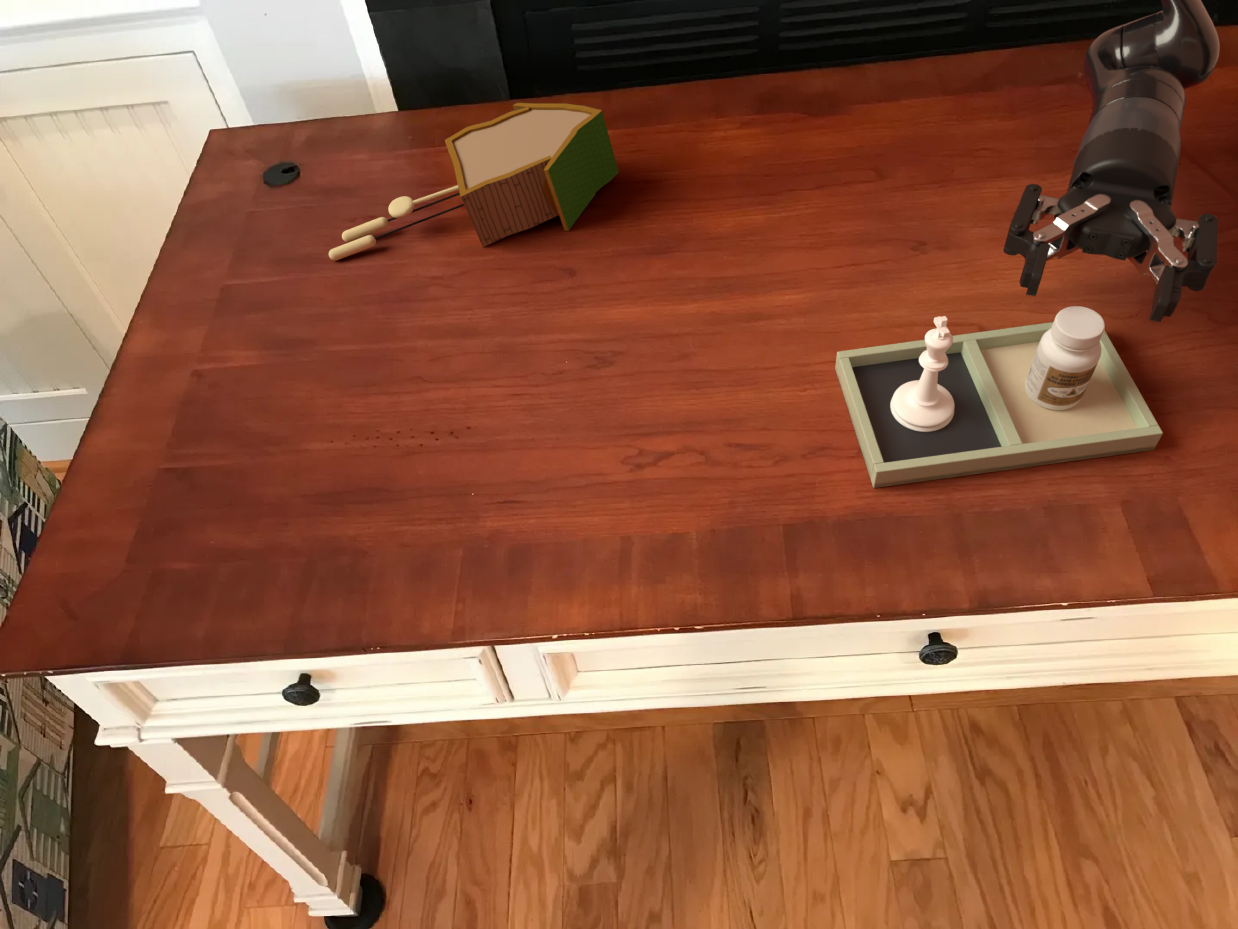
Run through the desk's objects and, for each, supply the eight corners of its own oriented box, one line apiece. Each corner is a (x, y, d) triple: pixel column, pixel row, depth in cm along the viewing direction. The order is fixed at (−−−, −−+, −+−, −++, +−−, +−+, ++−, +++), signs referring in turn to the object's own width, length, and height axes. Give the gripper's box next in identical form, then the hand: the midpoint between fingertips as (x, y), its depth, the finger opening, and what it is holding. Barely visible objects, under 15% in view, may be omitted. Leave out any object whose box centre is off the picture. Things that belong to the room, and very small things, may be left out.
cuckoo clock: (352, 315, 97) (635, 207, 97) (315, 260, 91) (618, 144, 90) (337, 238, 104) (602, 137, 104) (302, 182, 98) (584, 74, 97)
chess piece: (938, 379, 80) (961, 288, 72) (964, 424, 77) (991, 334, 69) (880, 392, 80) (897, 303, 72) (904, 438, 77) (924, 350, 69)
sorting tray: (1089, 333, 83) (1096, 315, 81) (1153, 450, 75) (1163, 433, 73) (834, 368, 83) (836, 351, 81) (873, 488, 75) (876, 472, 74)
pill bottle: (1041, 417, 77) (1068, 349, 71) (1013, 378, 79) (1037, 308, 73) (1093, 404, 77) (1124, 335, 71) (1064, 365, 80) (1092, 295, 74)
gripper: (1044, 111, 78) (1004, 239, 70) (1241, 140, 74) (1225, 281, 65) (1022, 189, 84) (983, 316, 76) (1204, 220, 80) (1184, 359, 71)
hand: (1095, 299), depth 71 cm, fingers open, 8 cm apart
